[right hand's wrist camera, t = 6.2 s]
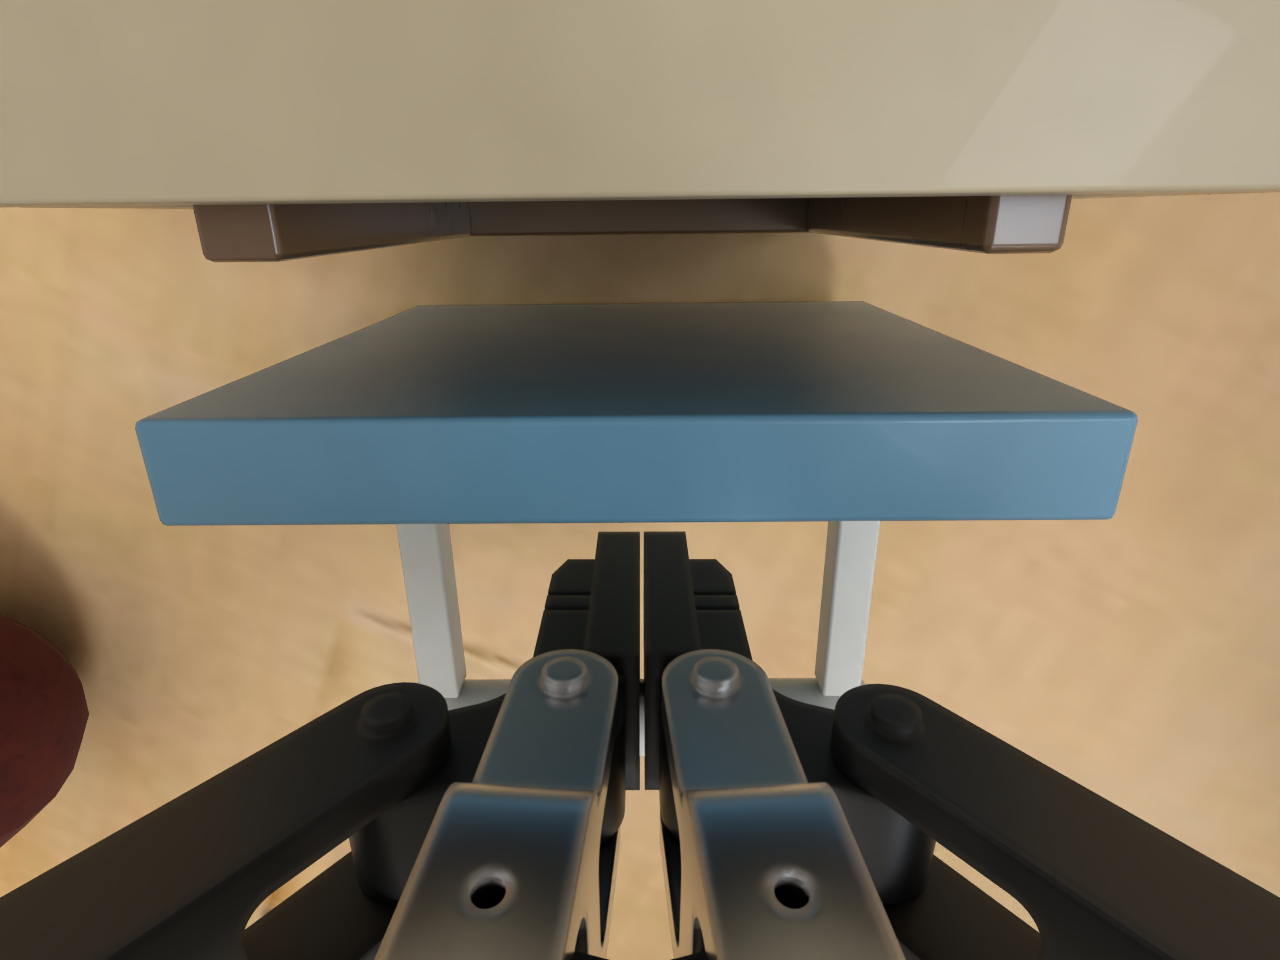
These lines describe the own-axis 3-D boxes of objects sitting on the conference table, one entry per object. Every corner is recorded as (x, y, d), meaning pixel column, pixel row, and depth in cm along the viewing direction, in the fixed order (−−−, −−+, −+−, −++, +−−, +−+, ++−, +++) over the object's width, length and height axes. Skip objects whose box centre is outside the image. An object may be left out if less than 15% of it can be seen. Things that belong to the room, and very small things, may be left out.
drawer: (840, 554, 18) (1027, 883, 9) (446, 557, 18) (255, 884, 9) (939, -453, 12) (1887, -2601, 3) (326, -440, 12) (-659, -2457, 3)
